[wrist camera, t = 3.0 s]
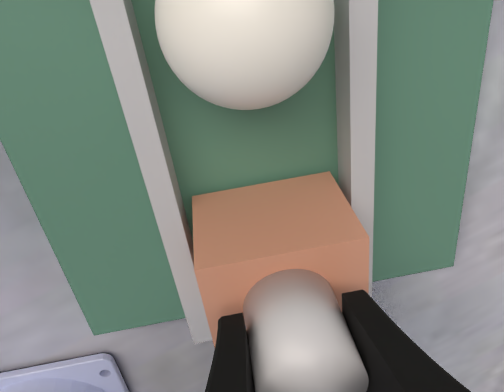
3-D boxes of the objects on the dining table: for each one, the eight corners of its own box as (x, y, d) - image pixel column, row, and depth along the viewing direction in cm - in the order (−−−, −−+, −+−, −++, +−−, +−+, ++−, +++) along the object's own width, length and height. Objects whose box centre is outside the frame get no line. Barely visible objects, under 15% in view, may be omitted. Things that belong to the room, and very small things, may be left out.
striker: (333, 256, 18) (407, 419, 12) (211, 279, 18) (226, 456, 12) (329, 171, 16) (417, 317, 10) (191, 196, 16) (196, 360, 10)
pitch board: (442, 252, 20) (472, 289, 18) (97, 318, 20) (87, 364, 18) (553, -604, 9) (671, -775, 7) (-283, -516, 8) (-451, -675, 6)
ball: (313, 69, 14) (360, 119, 10) (178, 92, 14) (175, 152, 10) (304, -94, 12) (360, -106, 8) (140, -70, 12) (120, -68, 8)
